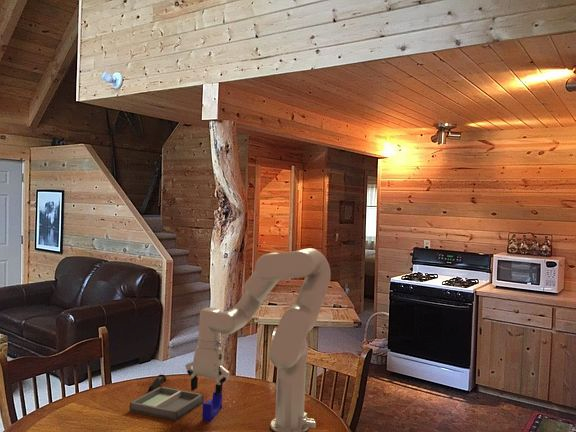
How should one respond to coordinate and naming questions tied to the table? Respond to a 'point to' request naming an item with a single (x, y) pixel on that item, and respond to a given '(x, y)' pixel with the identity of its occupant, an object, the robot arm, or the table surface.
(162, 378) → the electric trimmer
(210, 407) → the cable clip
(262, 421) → the table surface
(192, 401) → the organiser tray
